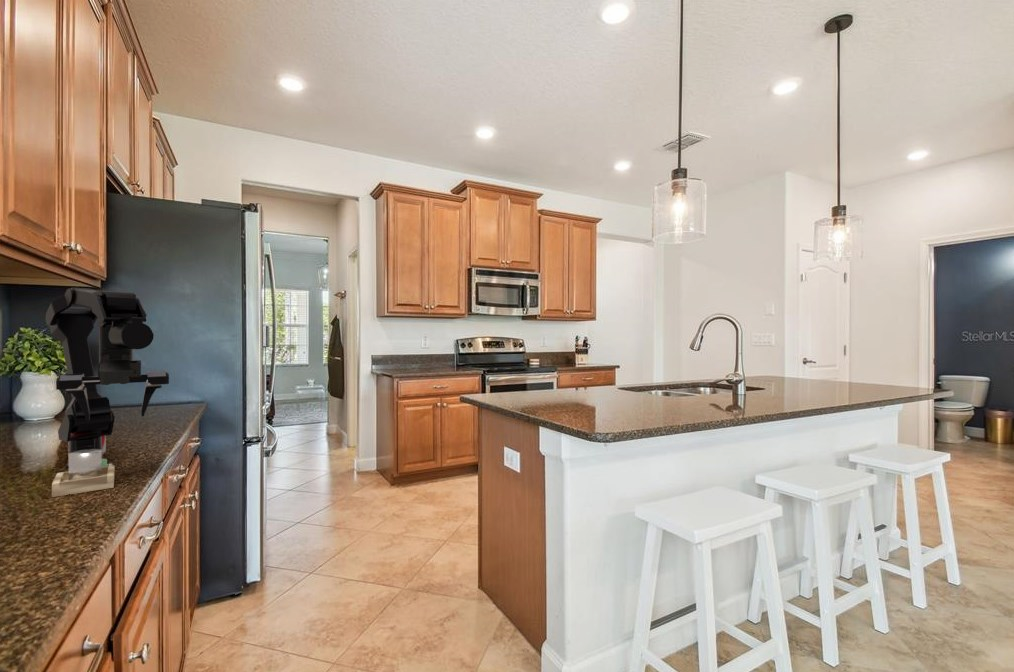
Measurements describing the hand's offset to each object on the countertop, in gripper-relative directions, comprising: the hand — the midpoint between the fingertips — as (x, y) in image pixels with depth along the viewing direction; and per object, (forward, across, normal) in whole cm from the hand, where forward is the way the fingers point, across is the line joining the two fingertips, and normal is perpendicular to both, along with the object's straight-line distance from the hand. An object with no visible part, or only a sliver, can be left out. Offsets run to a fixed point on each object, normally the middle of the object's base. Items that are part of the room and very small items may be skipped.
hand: (116, 418), depth 103 cm
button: (+13, -3, +1) cm, 13 cm away
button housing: (+12, -3, +1) cm, 13 cm away
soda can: (+13, -6, +22) cm, 26 cm away
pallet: (+12, -5, -6) cm, 15 cm away
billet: (+11, -5, -6) cm, 14 cm away
